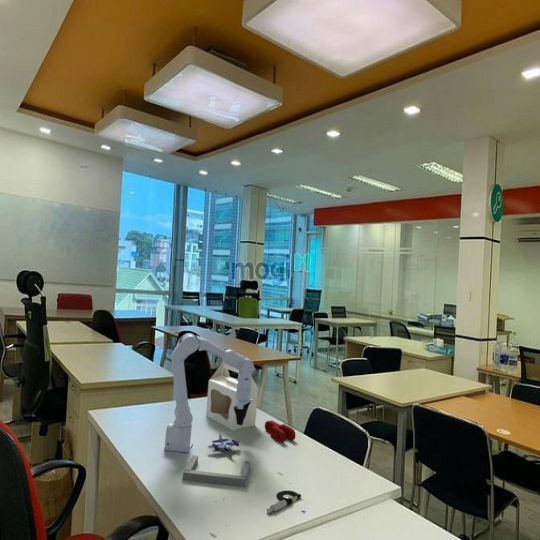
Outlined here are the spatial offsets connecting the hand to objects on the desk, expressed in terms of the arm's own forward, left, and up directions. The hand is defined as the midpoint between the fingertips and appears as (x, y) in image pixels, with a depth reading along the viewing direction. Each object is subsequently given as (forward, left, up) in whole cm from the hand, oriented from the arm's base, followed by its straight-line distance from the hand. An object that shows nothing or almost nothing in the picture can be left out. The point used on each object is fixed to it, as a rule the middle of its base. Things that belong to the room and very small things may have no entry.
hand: (241, 421), depth 164 cm
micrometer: (+18, -38, -10) cm, 43 cm away
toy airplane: (-4, -8, -10) cm, 14 cm away
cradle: (-4, -26, -10) cm, 28 cm away
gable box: (-8, +27, -10) cm, 30 cm away
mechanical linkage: (+15, +14, -10) cm, 23 cm away
